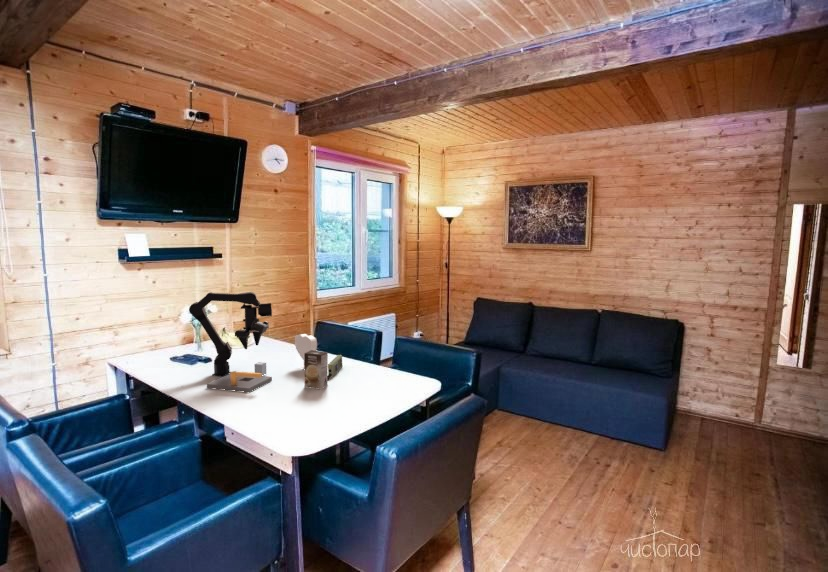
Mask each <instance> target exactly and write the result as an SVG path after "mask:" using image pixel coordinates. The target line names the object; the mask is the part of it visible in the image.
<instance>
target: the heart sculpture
mask: <svg viewBox="0 0 828 572" xmlns="http://www.w3.org/2000/svg"><path fill="white" fill-rule="evenodd" d="M294 344H295V345H294V346H295V349H296V352H297V353H298V354H299V356H300V358H301V359H302V360H303V361H304V353H306V352H308V351H311V350H314V351H317V349H318V340H317V337H315V336H314V335H308V334H307V333H302V334H296V335H295V336H294ZM300 366H301V367H300V368H303V369H305V365H304V364H303V365H300Z"/></svg>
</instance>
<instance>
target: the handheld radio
mask: <svg viewBox="0 0 828 572" xmlns="http://www.w3.org/2000/svg"><path fill="white" fill-rule="evenodd" d="M327 368H328V369H327V380H328V379H330V378H331V376H333V377H334V376H335V375H336V374H337V373H338V372H339V371H340V370H341V368H343V355H342V354H337V355H336V356H335V357H334V358H333V359H332V360H331V361H330V362H329V363H328V367H327ZM339 369H340V370H339Z"/></svg>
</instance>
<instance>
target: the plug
mask: <svg viewBox="0 0 828 572" xmlns="http://www.w3.org/2000/svg"><path fill="white" fill-rule="evenodd" d="M254 373H262V375H264V374H266V375H267V362H265V361H264V362H262V361H258V362H256V363H254ZM264 376H265V375H264Z"/></svg>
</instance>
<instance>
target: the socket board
mask: <svg viewBox="0 0 828 572" xmlns="http://www.w3.org/2000/svg"><path fill="white" fill-rule="evenodd" d="M270 381H271V382H272V381H273V377H272V376H267V375H264V376H262V377H260V378H257V377H239V376H237V385H231V373H230V374H227V375H225V376H221V377H220V378H218V379H214V380H213V381H212V380H211V382H208V383H206V389H210V388H216V389H215V390H219V389H225V390H224V391H228V390H235V391H234V392H237V391H244V392H243V393H246V392H249V393H251V392H253V391H255V390H257V389H259V388H261V387H263V386H265V385H266V383H267V384H269V383H271V382H270ZM268 382H269V383H268ZM264 384H265V385H264ZM262 385H263V386H262ZM260 386H261V387H260ZM258 387H259V388H258ZM256 388H257V389H256ZM254 389H255V390H254ZM252 390H253V391H252ZM250 391H251V392H250Z"/></svg>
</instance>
